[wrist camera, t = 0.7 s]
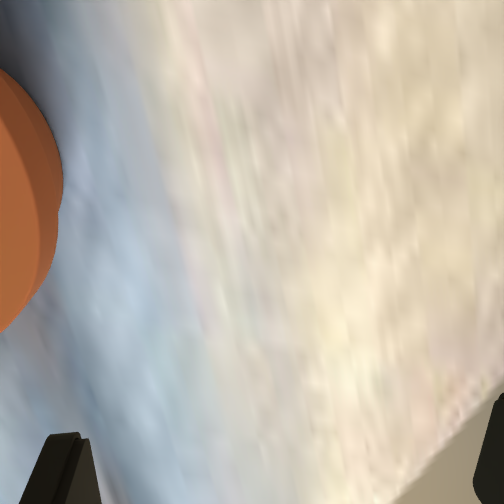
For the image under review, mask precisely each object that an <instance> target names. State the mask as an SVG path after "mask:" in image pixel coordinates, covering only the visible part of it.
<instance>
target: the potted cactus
mask: <svg viewBox="0 0 504 504" xmlns="http://www.w3.org/2000/svg"><path fill="white" fill-rule="evenodd" d="M62 194H63V173H62V166H61V160H60V156H59V152H58V149H57V146H56V143H55V140H54V137H53V135H52V132H51V130H50V128H49V126H48V124H47V122H46V120H45V118H44V117H43V115H42V113H41V112H40V110H39V108H38V107H37V106H36V104H35V103H34V101H33V100H32V99H31V97H30V96H29V95H28V94H27V93H26V92H25V90H24V89H23V88H22V87H21V86H20V85H19V84H18V83H17V82H16V81H15V80H14V79H13V78H12V77H10V76H9V75H8V74H7V73H6V72H4V71H3V70H2V69H0V333H1V332H2V331H3V330H4V329H6V328H7V327H8V326H9V325H10V324H11V322H12V321H13V320H14V319H15V318H16V317H17V316H18V315H19V313H20V312H21V311H22V310H23V308H24V307H25V306H26V305H27V303H28V302H29V301H30V299H31V298H32V297H33V296H34V294H35V293H36V292H37V290H38V289H39V287H40V286H41V284H42V283H43V281H44V280H45V278H46V275H47V273H48V271H49V269H50V267H51V264H52V260H53V257H54V254H55V249H56V243H57V237H58V211H59V208H60V204H61V200H62Z"/></svg>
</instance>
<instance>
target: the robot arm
mask: <svg viewBox="0 0 504 504" xmlns="http://www.w3.org/2000/svg"><path fill="white" fill-rule="evenodd" d="M473 487H474V491H475V493H476V495H477V497H478V498H479V500H480V501H481V503H482V504H504V393H502V394H501V395H500V396H499V399H498V400H496V401H495V403H494V405H493V409H492V413H491V416H490V420H489V423H488V427H487V430H486V434H485V438H484V441H483V445H482V449H481V453H480V456H479V459H478V463H477V467H476V470H475V473H474V477H473ZM19 504H102V502H101V497H100V492H99V487H98V482H97V476H96V471H95V466H94V461H93V456H92V451H91V445H90V441H89V439H88V438H86V439H81V436H80V433H79V432H72V433H61V434H50V435H49V436H48V437H47V439H46V441H45V443H44V446H43V448H42V450H41V453H40V455H39V457H38V460H37V462H36V464H35V467H34V469H33V471H32V474H31V476H30V478H29V481H28V483H27V485H26V488H25V490H24V492H23V495H22V497H21V500H20V502H19Z"/></svg>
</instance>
